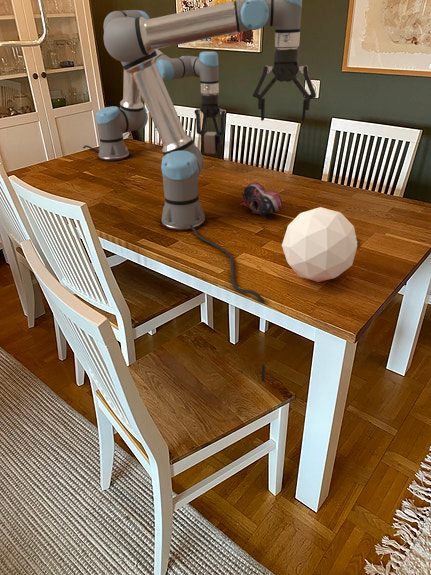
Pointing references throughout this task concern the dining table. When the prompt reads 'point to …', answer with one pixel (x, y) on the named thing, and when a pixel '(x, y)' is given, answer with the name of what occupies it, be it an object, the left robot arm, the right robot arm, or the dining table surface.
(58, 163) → the dining table surface
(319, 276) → the sphere
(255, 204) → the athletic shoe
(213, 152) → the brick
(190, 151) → the right robot arm
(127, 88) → the left robot arm
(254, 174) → the dining table surface
